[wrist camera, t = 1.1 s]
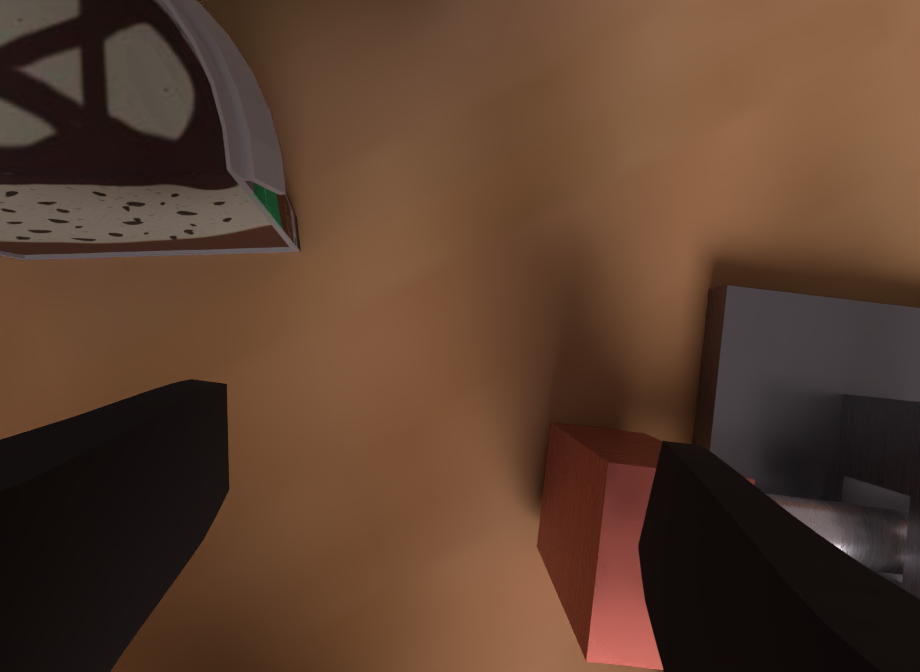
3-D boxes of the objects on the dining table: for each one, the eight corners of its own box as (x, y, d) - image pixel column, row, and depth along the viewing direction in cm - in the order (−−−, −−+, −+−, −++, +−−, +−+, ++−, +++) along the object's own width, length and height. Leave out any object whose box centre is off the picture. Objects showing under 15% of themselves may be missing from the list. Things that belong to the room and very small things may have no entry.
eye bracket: (664, 705, 22) (761, 865, 15) (709, 289, 23) (823, 261, 16) (960, 739, 22) (1191, 913, 15) (1000, 324, 23) (1242, 311, 16)
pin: (537, 546, 21) (586, 660, 13) (550, 422, 22) (608, 462, 14) (953, 594, 22) (1248, 737, 14) (965, 470, 22) (1265, 539, 14)
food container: (339, 71, 23) (251, -149, 13) (344, 250, 23) (259, 168, 13) (-24, 81, 23) (-398, -134, 13) (-22, 261, 23) (-400, 187, 13)
